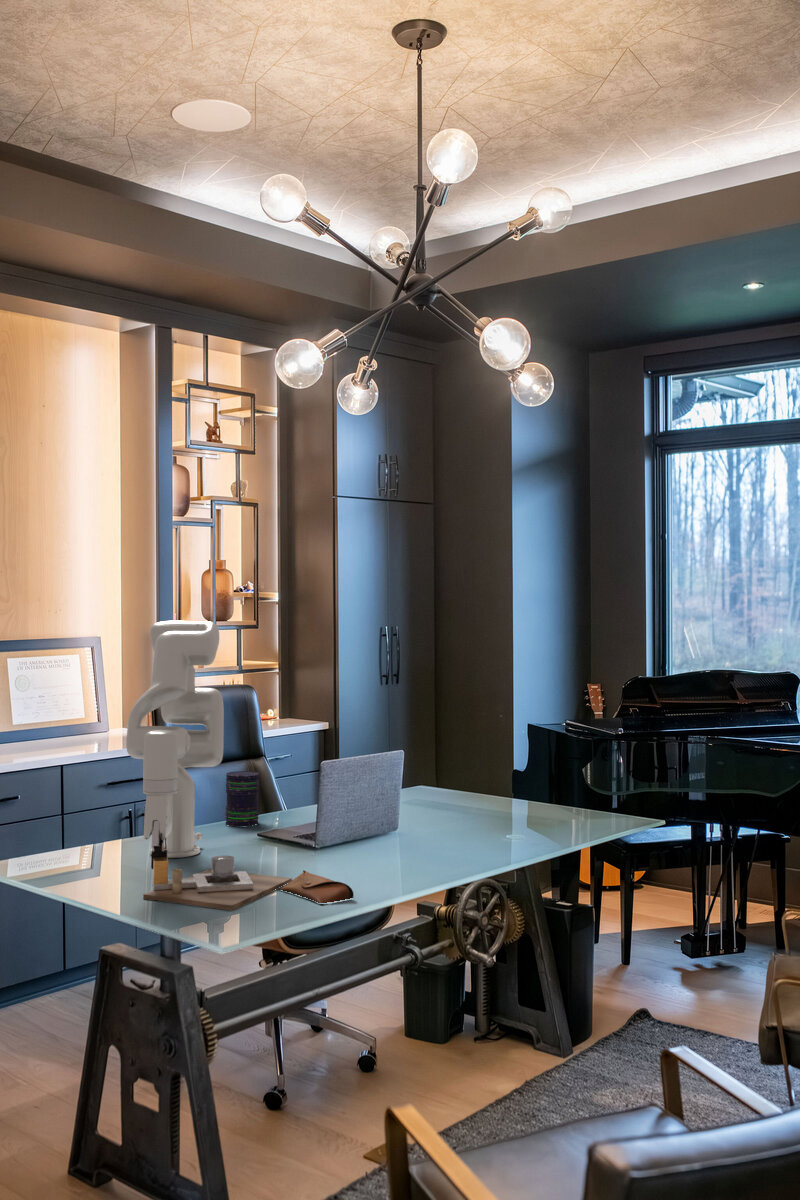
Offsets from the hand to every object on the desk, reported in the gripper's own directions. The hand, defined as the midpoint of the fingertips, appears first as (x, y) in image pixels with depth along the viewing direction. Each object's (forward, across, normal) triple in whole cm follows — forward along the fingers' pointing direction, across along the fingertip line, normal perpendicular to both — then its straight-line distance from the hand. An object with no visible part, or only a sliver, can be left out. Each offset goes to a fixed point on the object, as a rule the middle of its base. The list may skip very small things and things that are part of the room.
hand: (159, 868), depth 237 cm
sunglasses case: (+5, +6, +35) cm, 36 cm away
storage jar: (+5, -77, +11) cm, 78 cm away
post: (+4, +1, +14) cm, 15 cm away
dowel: (+3, +8, +5) cm, 10 cm away
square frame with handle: (+3, +2, +10) cm, 11 cm away
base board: (+4, +2, +14) cm, 15 cm away
